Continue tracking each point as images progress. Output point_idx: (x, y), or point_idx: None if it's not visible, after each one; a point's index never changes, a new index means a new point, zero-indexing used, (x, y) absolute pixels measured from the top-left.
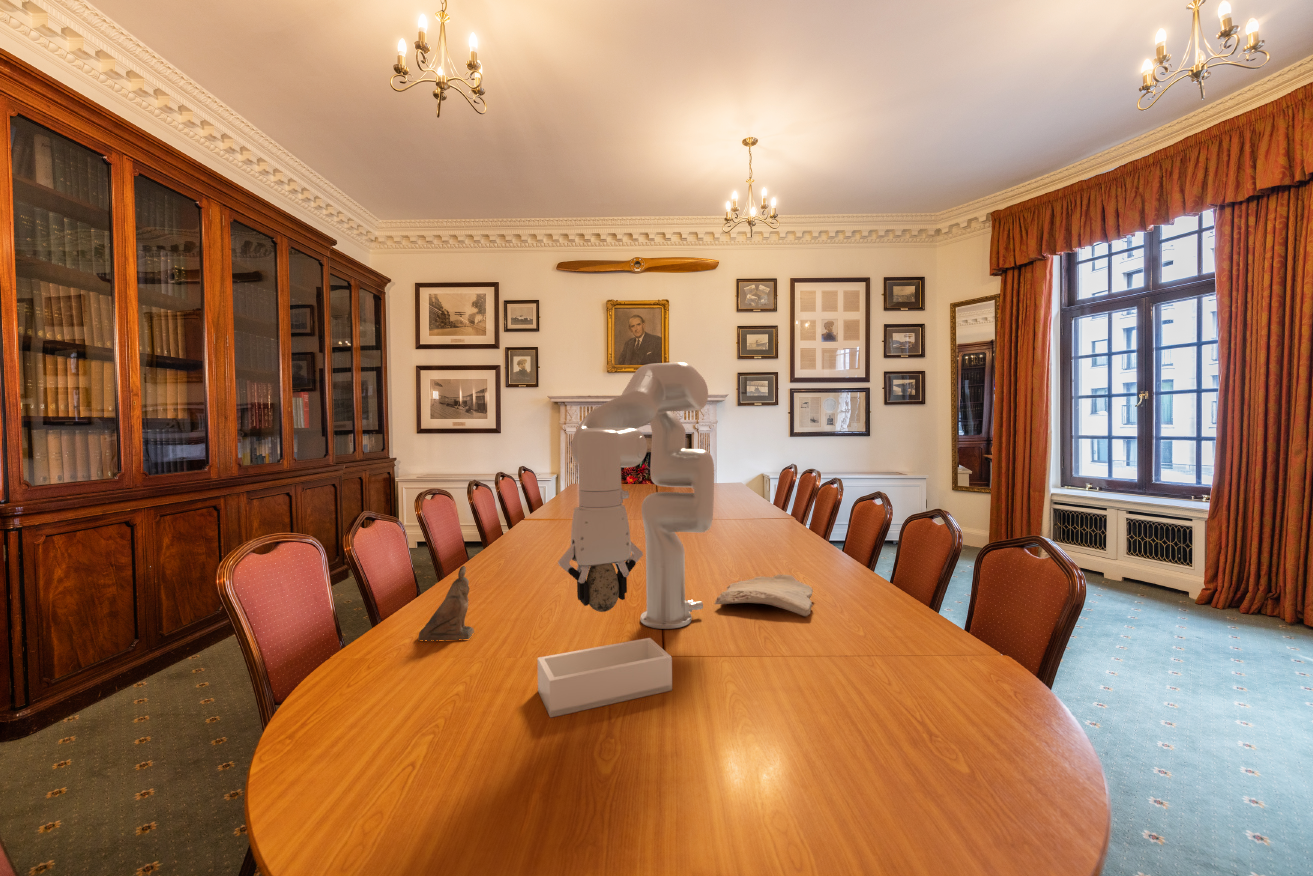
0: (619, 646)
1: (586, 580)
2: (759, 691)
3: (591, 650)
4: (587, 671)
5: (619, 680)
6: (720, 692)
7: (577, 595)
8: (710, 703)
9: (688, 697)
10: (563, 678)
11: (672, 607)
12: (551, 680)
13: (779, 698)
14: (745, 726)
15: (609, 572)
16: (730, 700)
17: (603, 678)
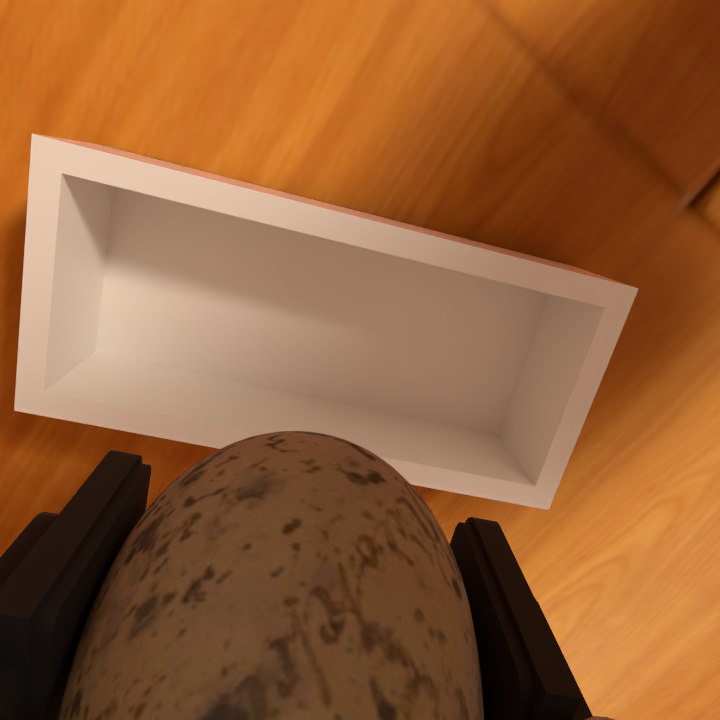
0: (464, 271)
1: (67, 683)
2: (678, 587)
3: (320, 235)
4: (192, 427)
5: None
6: (599, 534)
7: (33, 522)
8: (528, 562)
9: (508, 505)
10: (77, 421)
11: None
12: (23, 409)
13: (679, 636)
14: None
15: None
16: (581, 579)
17: None
